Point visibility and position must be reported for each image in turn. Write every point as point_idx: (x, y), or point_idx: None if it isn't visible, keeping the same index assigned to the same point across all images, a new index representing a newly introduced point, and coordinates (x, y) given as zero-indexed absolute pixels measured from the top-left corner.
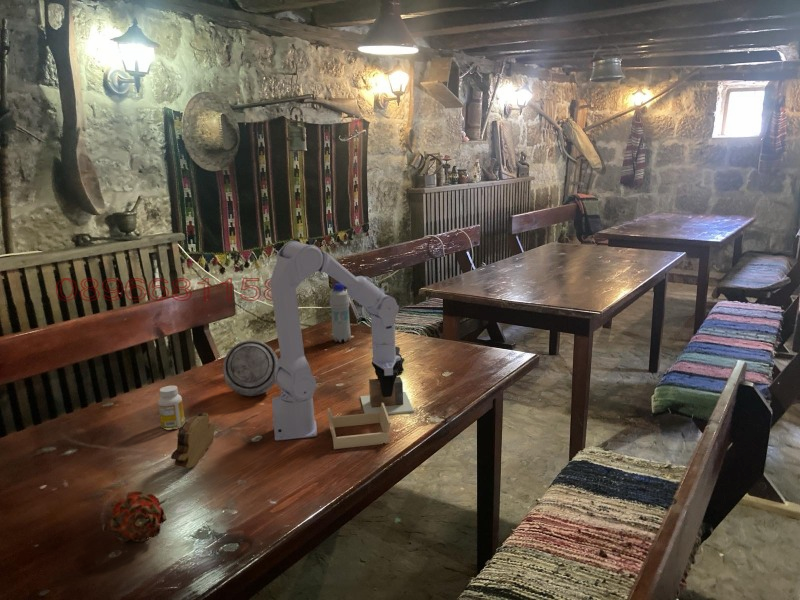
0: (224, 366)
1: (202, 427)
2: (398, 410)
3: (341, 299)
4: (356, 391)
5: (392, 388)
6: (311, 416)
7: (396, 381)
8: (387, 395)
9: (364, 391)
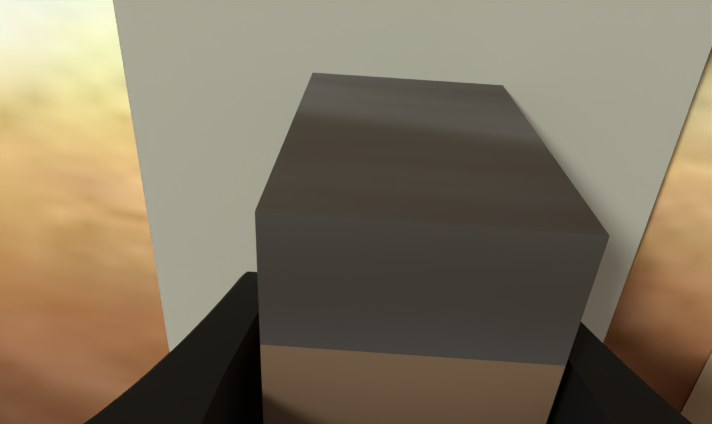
0: None
1: None
2: (630, 171)
3: None
4: (36, 386)
5: (624, 368)
6: None
7: (501, 324)
8: None
9: (37, 336)
